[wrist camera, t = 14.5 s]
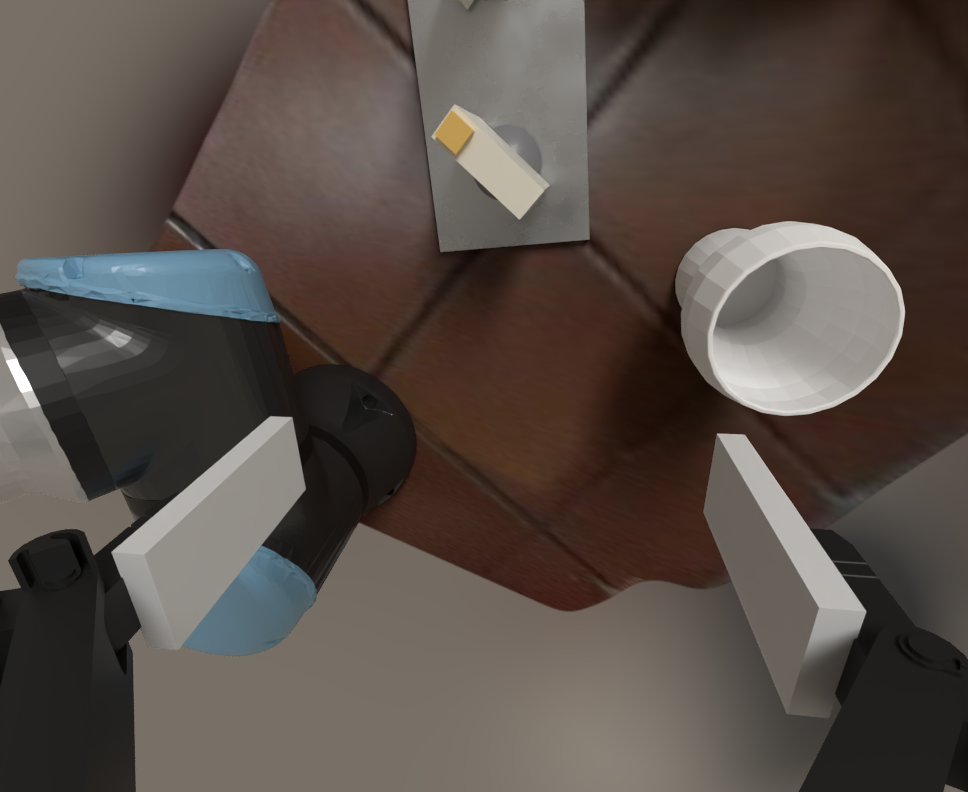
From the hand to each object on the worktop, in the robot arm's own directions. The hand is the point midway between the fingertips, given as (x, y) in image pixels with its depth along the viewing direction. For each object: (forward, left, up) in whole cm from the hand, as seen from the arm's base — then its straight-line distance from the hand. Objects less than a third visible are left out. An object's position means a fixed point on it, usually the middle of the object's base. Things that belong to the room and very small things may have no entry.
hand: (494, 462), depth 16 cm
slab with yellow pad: (-2, +9, -29) cm, 30 cm away
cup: (+14, -1, -30) cm, 33 cm away
